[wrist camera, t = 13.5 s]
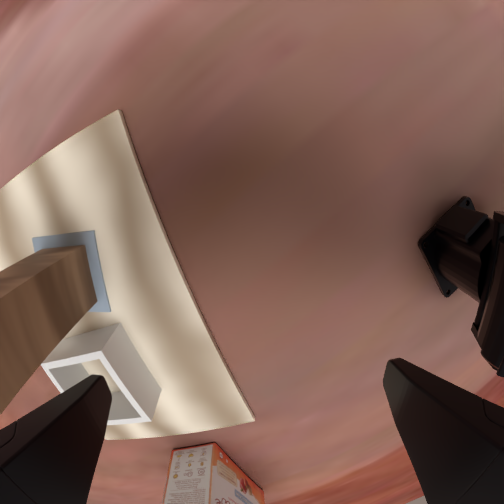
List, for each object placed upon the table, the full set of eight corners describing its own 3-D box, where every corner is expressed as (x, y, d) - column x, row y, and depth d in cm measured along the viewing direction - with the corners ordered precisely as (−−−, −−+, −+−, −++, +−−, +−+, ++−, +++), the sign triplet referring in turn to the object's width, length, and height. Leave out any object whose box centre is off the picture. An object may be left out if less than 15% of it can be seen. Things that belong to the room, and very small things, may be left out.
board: (121, 110, 17) (117, 109, 17) (254, 416, 25) (254, 422, 24) (-21, 210, 19) (-26, 212, 18) (107, 436, 26) (105, 441, 26)
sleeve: (120, 322, 21) (101, 350, 17) (161, 389, 23) (151, 421, 19) (61, 339, 22) (40, 364, 18) (101, 398, 24) (87, 426, 20)
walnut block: (85, 244, 19) (-44, 330, 7) (97, 301, 20) (0, 414, 8) (41, 248, 19) (-78, 321, 7) (54, 301, 20) (-43, 394, 8)
